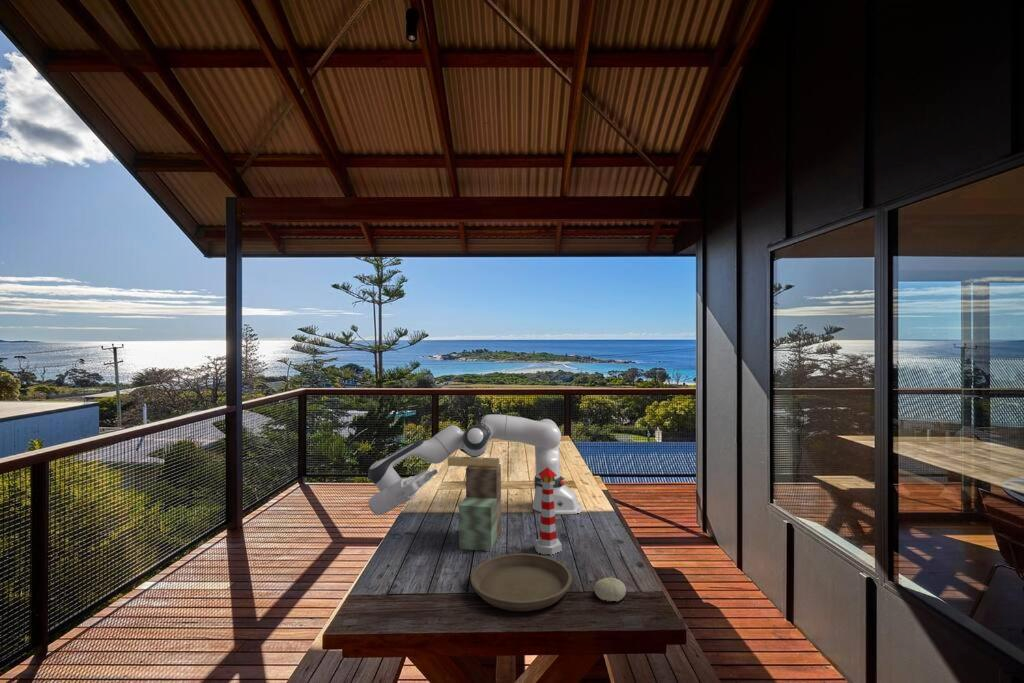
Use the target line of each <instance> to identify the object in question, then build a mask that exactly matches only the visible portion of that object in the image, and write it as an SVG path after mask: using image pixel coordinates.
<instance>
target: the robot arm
mask: <svg viewBox="0 0 1024 683" xmlns="http://www.w3.org/2000/svg"><path fill="white" fill-rule="evenodd" d="M491 440H503V441H508V442H516V443H522V444H526V445H529V446H534V454H535V455H534V456H535V474H534V475H535V476H534V478H533V479H534V480H533V482H534V483H533V484H534V485H533V486H534V497H533V501H532V505H531V506H532V507H531V508H532V510H534V511H536V512H540V513H541V502H542V484H541V477H540V476H539V473H540V472H542V471H543V470H544V469H546V468H547V467H548V468H549V469H550V470H552V471H553V472H554V473H555V474H556V475H557V476H554V481H555V484H554V485H553V494H554V509H555V515H578V514H577V513H579V514H580V513H581V512H582V511H583V505H582V503H581V502H579V501H578V498H577V494H576V493H575V491H573V490H572V489H570V487H568V486H567V485H566V484H565V483H566V481H565V476H561V458H560V457H561V456H560V446H559V445H560V443H561V440H562V433H561V430H560V429H559V427H558V425H557V423H556V422H554V421H553V420H552V419H549V418H543V419H541V420H539V421H538V420H534V419H530V418H527V417H521V416H515V415H506V414H499V413H498V414H495V413H494V414H486V415H484V416H483V417H482V418H481V420H480V422H479V423H477V424H476V423H475V424H474V425H471V426H469V427H467V428H466V429H465V430H464V431H463V430H462V429H461V428H460V427H459V426H457V425H454V424H452V425H449V426H447V427H445V428H443V429H442V430H440V431H438V432H437V433H436V434H435V435H434V436H432V437H431V438H428V439H426V440H422V439H417V440H415V441H412V442H411V443H409V444H407V445H405V446H403V447H402V448H400V449H398V450H396V451H394V452H393V453H391V454H390V455H389V454H388V455H387V456H385V457H384V458H381V459H379V460H378V461H375V462H373V464H371V465H370V467H369V468H368V473H367V477H368V480H370V482H371V483H373V484H374V485H375V486H376V488H377V489H378V490H379V492H377V493H376V494H375V495H373V496H371V497H370V498H369V499H368V507H369V509H370V511H372V513H373V514H374V515H376V516H381V515H383V514H387V513H389V512H391V511H393V510H395V509H396V508H397V507H398V506H400V505H403V504H406V503H407V502H408V501H409V502H410V500H413V499H414V497H415V496H416V493H417V492H418V491H419V489H421V488H422V487H423V486H425V484H427V483H428V482H429V481H430V480H431V479H433V477H434V476H435V475H437V474H438V473H439V471H438V469H436V468H435V469H434V470H433V469H432V470H431V471H430V470H428V469H426V470H424V471H422V472H420V473H418V474H415V475H414V476H412V475H411V476H408V477H404V478H403V477H401V476H400V474H398V472H397V471H396V470H395V469H394V466H396V465H397V464H399V463H400V462H402V461H404V460H406V459H407V458H408V457H412V456H414V457H418V458H419V459H422V460H424V461H425V462H427V463H429V464H433V465H434V464H435V465H436V464H441V463H442V462H444V461H446V460H448V457H450V456H451V455H452V454H453V453H455V452H456V451H458V450H460V452H462V453H464V454H466V455H467V456H468V457H481V456H482V455H484V453H485V452H486V450H487V447H488V445H489V444H488V443H489V441H491Z"/></svg>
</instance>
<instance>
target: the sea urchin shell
mask: <svg viewBox="0 0 1024 683" xmlns="http://www.w3.org/2000/svg"><path fill="white" fill-rule="evenodd" d="M593 591H594V593H595V595H596V597H598V599H600V600H602V601H605V600H606V601H605V602H611V601H616V602H619V601H621V600H623V598H624V597H625V596H626V593H627V587H626V585H625V583H624V582H623V581H622V580H620V579H618V578H615V577H612V576H611V577H604V578H601V579H599V580H597V581H596V582H595V584H594V588H593Z"/></svg>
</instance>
